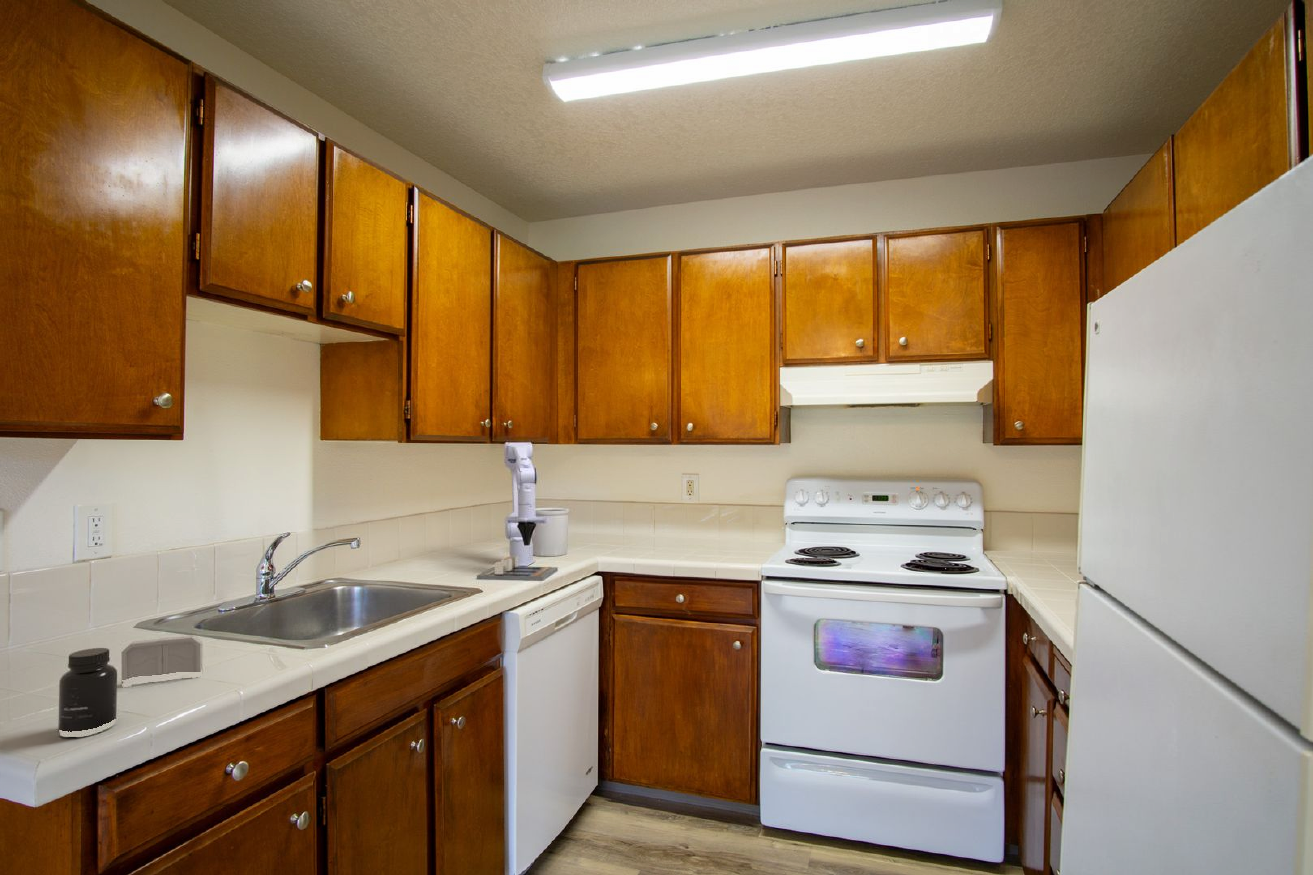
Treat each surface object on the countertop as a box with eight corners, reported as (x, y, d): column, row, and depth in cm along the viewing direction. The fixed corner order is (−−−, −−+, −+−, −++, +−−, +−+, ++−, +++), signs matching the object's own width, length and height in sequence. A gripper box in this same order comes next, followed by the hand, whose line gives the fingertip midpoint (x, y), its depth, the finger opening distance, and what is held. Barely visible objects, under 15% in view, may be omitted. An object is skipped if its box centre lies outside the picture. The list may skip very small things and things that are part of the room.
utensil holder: (553, 549, 269) (553, 506, 270) (576, 553, 259) (576, 508, 259) (523, 553, 259) (523, 509, 259) (546, 558, 248) (546, 512, 249)
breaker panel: (496, 569, 228) (496, 554, 228) (557, 570, 224) (557, 555, 224) (476, 579, 212) (476, 563, 212) (542, 580, 209) (542, 564, 209)
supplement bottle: (62, 744, 97) (61, 662, 97) (55, 730, 102) (55, 652, 102) (121, 728, 102) (120, 651, 102) (112, 716, 107) (112, 642, 107)
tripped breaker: (504, 569, 220) (504, 557, 220) (512, 569, 220) (512, 557, 220) (501, 570, 217) (501, 558, 218) (509, 570, 217) (509, 559, 217)
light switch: (124, 684, 121) (124, 642, 121) (202, 674, 126) (202, 633, 126) (121, 687, 120) (121, 644, 120) (200, 677, 124) (200, 636, 124)
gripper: (501, 504, 215) (501, 546, 215) (544, 505, 213) (544, 547, 213) (509, 502, 222) (509, 543, 222) (550, 503, 220) (551, 543, 220)
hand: (527, 545), depth 218 cm, fingers closed
